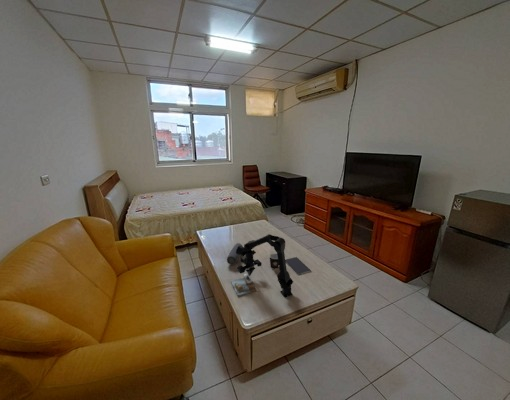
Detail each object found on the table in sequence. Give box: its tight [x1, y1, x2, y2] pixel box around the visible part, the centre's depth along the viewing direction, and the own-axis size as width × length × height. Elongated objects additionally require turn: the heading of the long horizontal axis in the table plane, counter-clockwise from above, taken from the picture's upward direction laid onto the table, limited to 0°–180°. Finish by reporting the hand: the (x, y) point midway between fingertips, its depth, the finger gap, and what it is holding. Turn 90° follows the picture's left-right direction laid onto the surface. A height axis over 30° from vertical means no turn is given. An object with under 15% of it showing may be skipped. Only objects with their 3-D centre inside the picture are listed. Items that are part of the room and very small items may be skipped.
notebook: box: [285, 256, 312, 276], centre depth 179 cm, size 13×2×21 cm
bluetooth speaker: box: [226, 242, 244, 266], centre depth 188 cm, size 23×9×10 cm, turn 168°
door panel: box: [230, 277, 258, 298], centre depth 154 cm, size 16×14×4 cm
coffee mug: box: [268, 253, 279, 270], centre depth 176 cm, size 12×9×10 cm
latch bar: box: [243, 273, 252, 285], centre depth 158 cm, size 10×3×3 cm, turn 23°
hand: (249, 275), depth 163 cm, fingers closed
